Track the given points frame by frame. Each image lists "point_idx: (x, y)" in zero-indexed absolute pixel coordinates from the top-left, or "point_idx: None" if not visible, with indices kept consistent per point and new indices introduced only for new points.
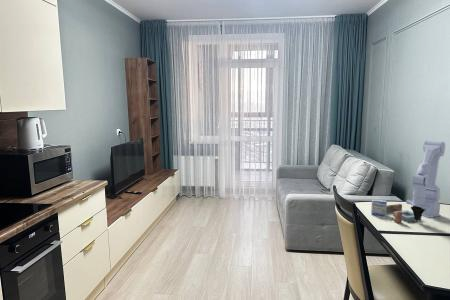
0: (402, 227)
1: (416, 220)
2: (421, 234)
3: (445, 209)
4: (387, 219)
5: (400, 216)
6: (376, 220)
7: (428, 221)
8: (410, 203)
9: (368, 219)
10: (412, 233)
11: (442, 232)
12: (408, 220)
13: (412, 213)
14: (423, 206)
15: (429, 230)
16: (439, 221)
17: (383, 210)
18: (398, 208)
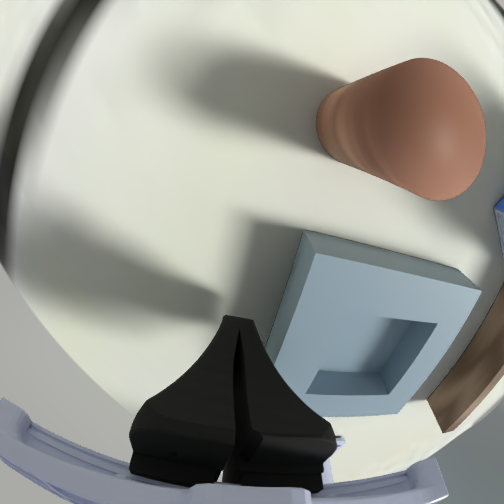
0: (216, 18)
1: (266, 346)
2: (28, 63)
3: None
4: None
5: (353, 98)
6: (472, 25)
7: None
8: (370, 496)
9: (498, 14)
10: (74, 3)
11: (12, 264)
12: (299, 260)
13: (340, 403)
14: (37, 476)
15: (47, 213)
16: None
17: None
18: (451, 395)
